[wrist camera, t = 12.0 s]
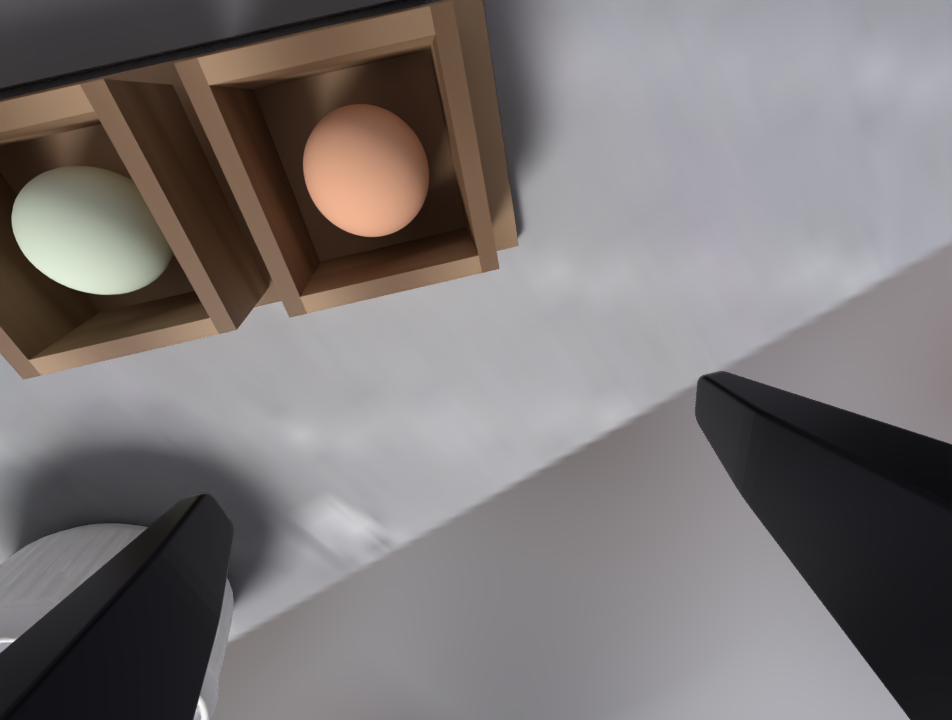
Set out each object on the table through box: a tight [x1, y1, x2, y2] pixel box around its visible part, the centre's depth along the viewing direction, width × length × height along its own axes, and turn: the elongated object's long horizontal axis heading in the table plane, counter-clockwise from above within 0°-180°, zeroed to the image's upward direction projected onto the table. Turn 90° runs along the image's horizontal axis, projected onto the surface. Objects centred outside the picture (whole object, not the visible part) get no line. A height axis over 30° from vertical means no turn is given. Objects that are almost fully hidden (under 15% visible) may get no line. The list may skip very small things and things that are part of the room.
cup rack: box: [0, 0, 519, 379], centre depth 15 cm, size 19×8×4 cm, turn 101°
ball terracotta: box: [303, 104, 429, 237], centre depth 15 cm, size 4×4×4 cm
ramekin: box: [0, 523, 234, 720], centre depth 23 cm, size 13×13×7 cm
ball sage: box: [12, 166, 173, 295], centre depth 14 cm, size 4×4×4 cm
